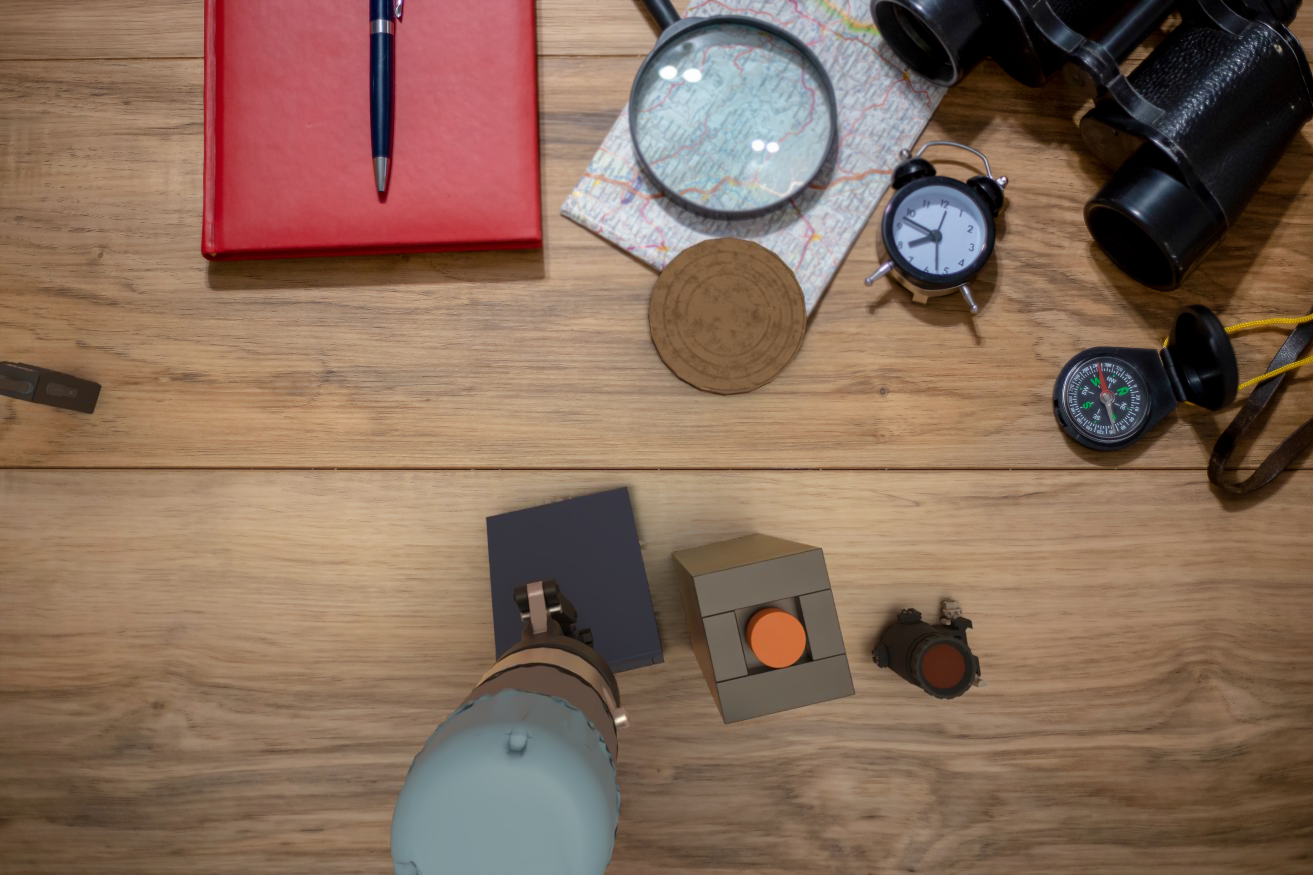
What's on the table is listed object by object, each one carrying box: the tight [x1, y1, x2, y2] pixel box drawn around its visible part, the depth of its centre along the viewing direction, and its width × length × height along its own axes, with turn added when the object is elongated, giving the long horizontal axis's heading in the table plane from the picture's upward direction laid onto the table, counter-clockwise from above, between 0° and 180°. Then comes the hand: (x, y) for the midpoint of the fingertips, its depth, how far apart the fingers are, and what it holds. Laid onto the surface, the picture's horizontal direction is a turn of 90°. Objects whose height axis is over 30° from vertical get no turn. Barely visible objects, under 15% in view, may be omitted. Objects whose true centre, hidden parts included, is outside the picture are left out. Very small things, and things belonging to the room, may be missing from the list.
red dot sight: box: [871, 599, 989, 701], centre depth 82 cm, size 8×14×10 cm
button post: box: [671, 532, 856, 725], centre depth 74 cm, size 10×9×30 cm
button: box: [746, 608, 806, 668], centre depth 58 cm, size 4×4×2 cm
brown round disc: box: [647, 236, 808, 397], centre depth 89 cm, size 16×16×3 cm
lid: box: [485, 486, 664, 667], centre depth 74 cm, size 17×13×1 cm
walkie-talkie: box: [0, 360, 102, 415], centre depth 78 cm, size 5×3×20 cm
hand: (574, 643), depth 67 cm, fingers closed
